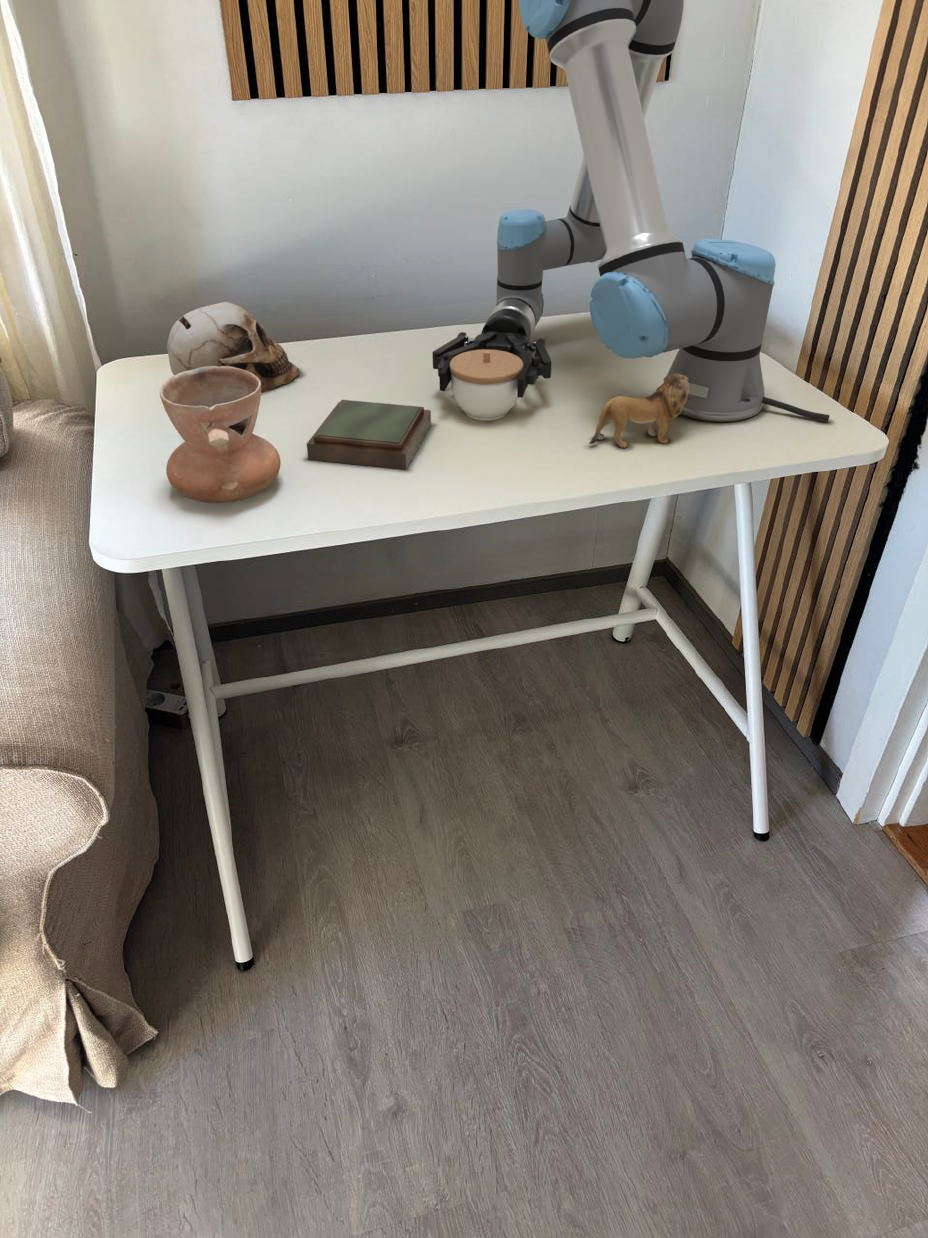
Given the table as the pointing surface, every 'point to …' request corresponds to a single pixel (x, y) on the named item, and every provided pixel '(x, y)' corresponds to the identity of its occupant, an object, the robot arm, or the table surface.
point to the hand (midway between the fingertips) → (480, 385)
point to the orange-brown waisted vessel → (217, 435)
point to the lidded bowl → (485, 382)
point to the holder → (370, 434)
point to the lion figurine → (646, 409)
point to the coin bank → (228, 345)
